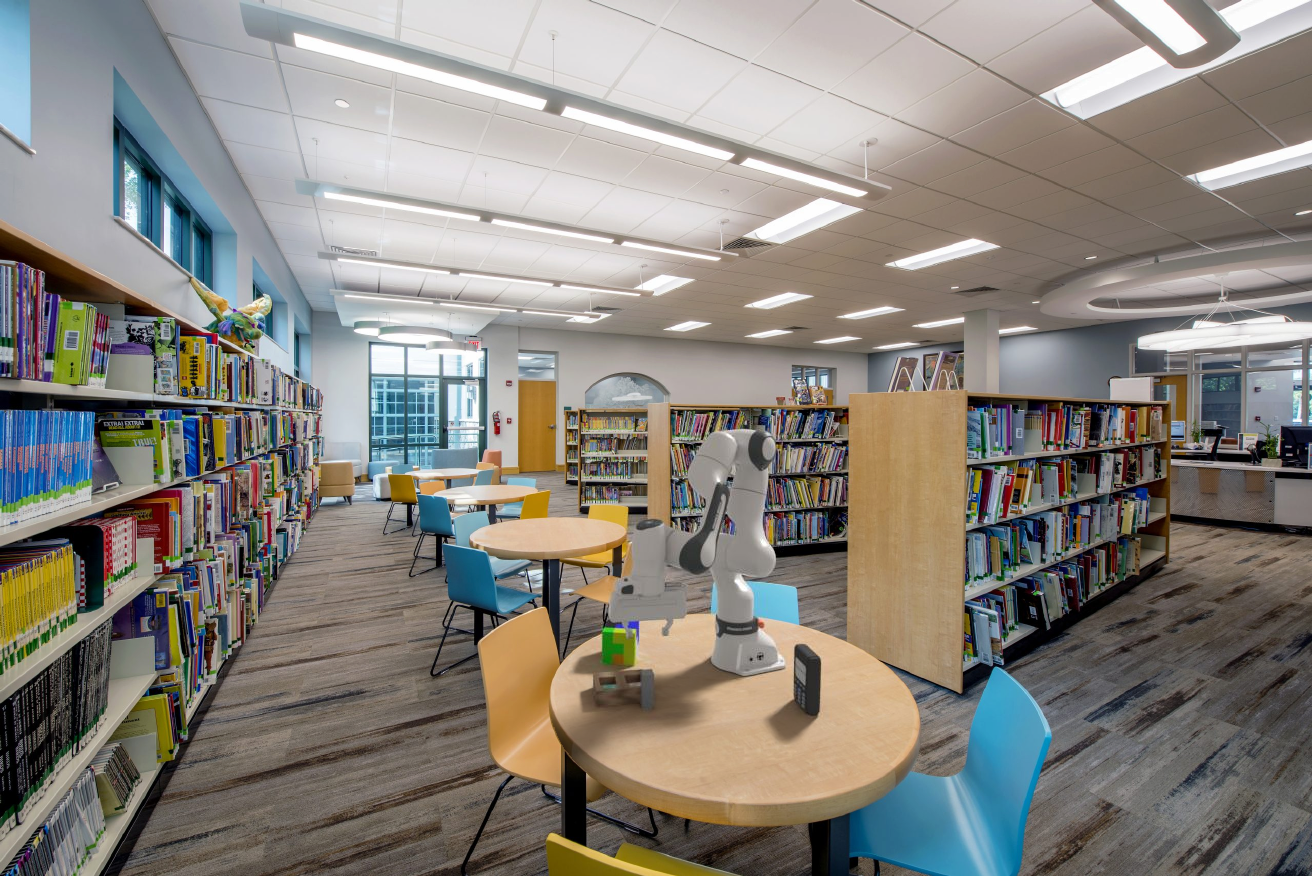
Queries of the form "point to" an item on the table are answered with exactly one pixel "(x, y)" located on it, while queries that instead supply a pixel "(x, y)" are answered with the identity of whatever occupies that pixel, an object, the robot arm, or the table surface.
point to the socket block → (617, 687)
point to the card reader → (807, 679)
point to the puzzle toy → (620, 644)
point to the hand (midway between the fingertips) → (647, 636)
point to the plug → (647, 689)
